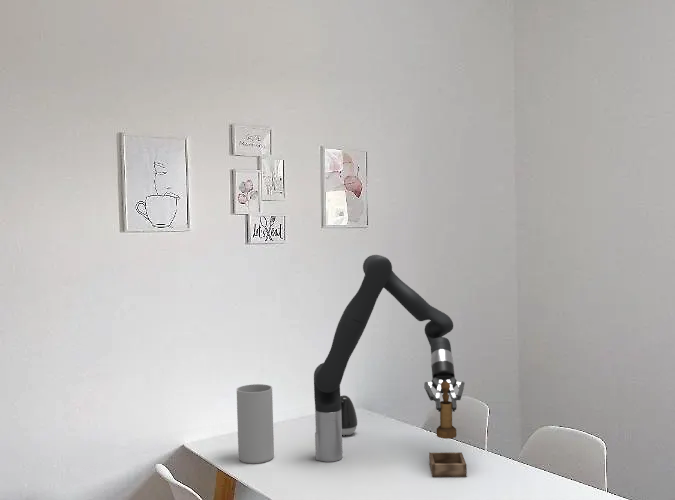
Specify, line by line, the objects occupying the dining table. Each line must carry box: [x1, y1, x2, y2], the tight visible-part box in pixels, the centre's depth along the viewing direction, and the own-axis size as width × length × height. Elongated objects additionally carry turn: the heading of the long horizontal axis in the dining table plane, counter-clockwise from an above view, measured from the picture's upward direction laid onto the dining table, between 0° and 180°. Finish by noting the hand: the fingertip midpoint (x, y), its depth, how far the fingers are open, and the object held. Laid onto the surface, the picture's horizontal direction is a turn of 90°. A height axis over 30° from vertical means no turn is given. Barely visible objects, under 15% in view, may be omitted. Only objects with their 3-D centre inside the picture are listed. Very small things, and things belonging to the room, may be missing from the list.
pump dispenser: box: [340, 394, 358, 437], centre depth 270 cm, size 10×10×15 cm
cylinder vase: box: [236, 383, 275, 465], centre depth 243 cm, size 12×12×25 cm
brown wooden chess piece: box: [436, 381, 457, 440], centre depth 226 cm, size 7×6×18 cm
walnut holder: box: [428, 451, 468, 478], centre depth 227 cm, size 11×12×4 cm
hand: (446, 410), depth 224 cm, fingers closed on brown wooden chess piece, 4 cm apart
